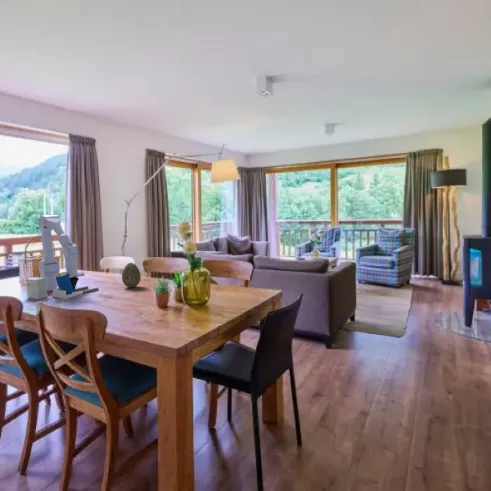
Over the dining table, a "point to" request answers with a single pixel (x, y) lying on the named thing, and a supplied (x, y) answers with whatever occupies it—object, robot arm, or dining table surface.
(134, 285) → the decorative egg
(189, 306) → the dining table surface
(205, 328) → the dining table surface
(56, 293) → the dock
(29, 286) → the small box
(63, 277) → the beverage can
